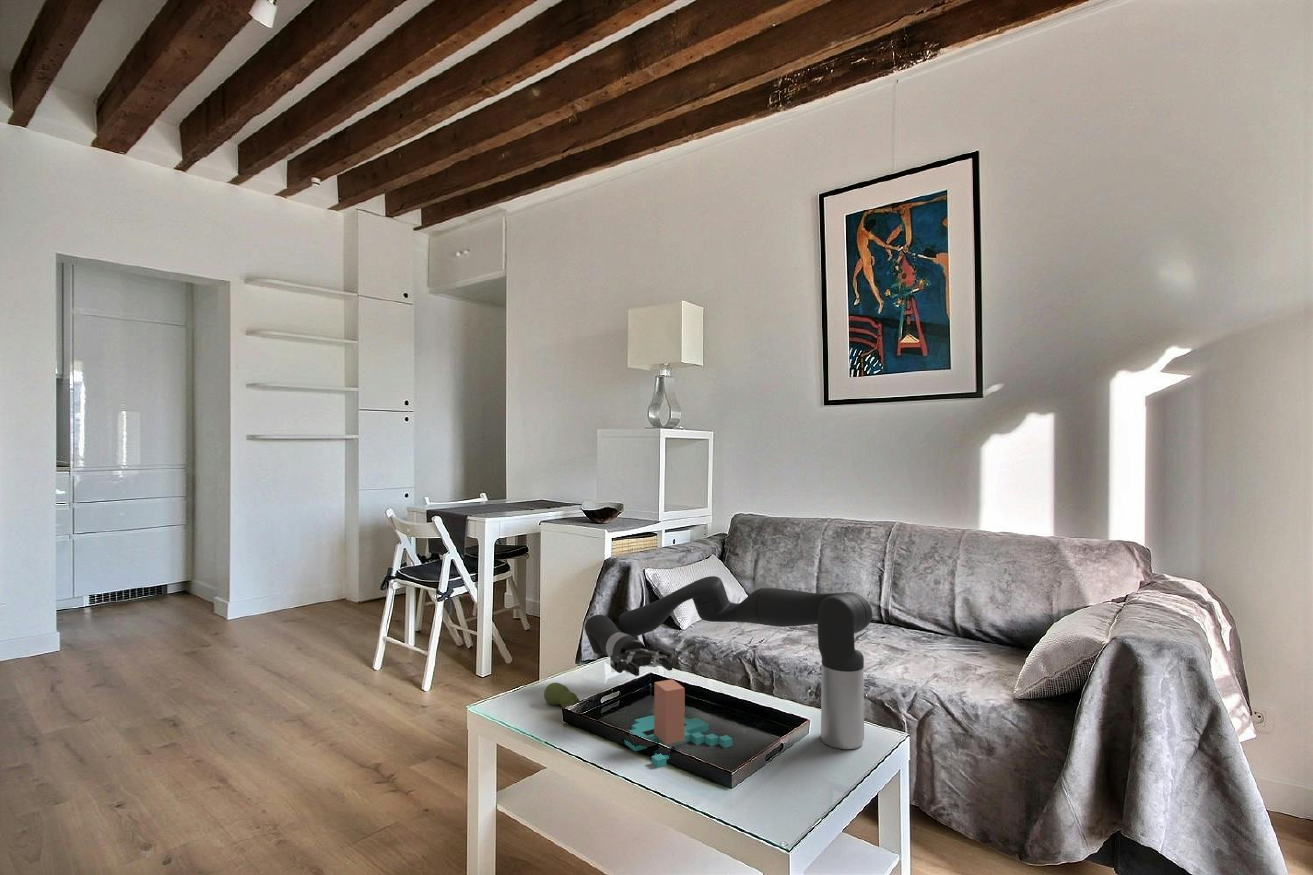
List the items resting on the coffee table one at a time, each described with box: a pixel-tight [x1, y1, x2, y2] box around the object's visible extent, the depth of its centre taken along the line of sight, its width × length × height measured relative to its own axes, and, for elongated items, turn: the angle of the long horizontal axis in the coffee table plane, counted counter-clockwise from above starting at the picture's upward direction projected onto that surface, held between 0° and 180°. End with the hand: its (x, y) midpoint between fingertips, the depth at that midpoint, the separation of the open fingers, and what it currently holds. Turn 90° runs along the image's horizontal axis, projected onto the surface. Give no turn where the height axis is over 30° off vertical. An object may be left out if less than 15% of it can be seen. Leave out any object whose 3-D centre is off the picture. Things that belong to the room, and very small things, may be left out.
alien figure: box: [624, 714, 734, 769], centre depth 158 cm, size 20×2×20 cm
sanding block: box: [653, 678, 686, 747], centre depth 154 cm, size 4×6×12 cm
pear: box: [543, 682, 580, 710], centre depth 177 cm, size 6×5×10 cm
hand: (654, 668), depth 161 cm, fingers open, 8 cm apart
